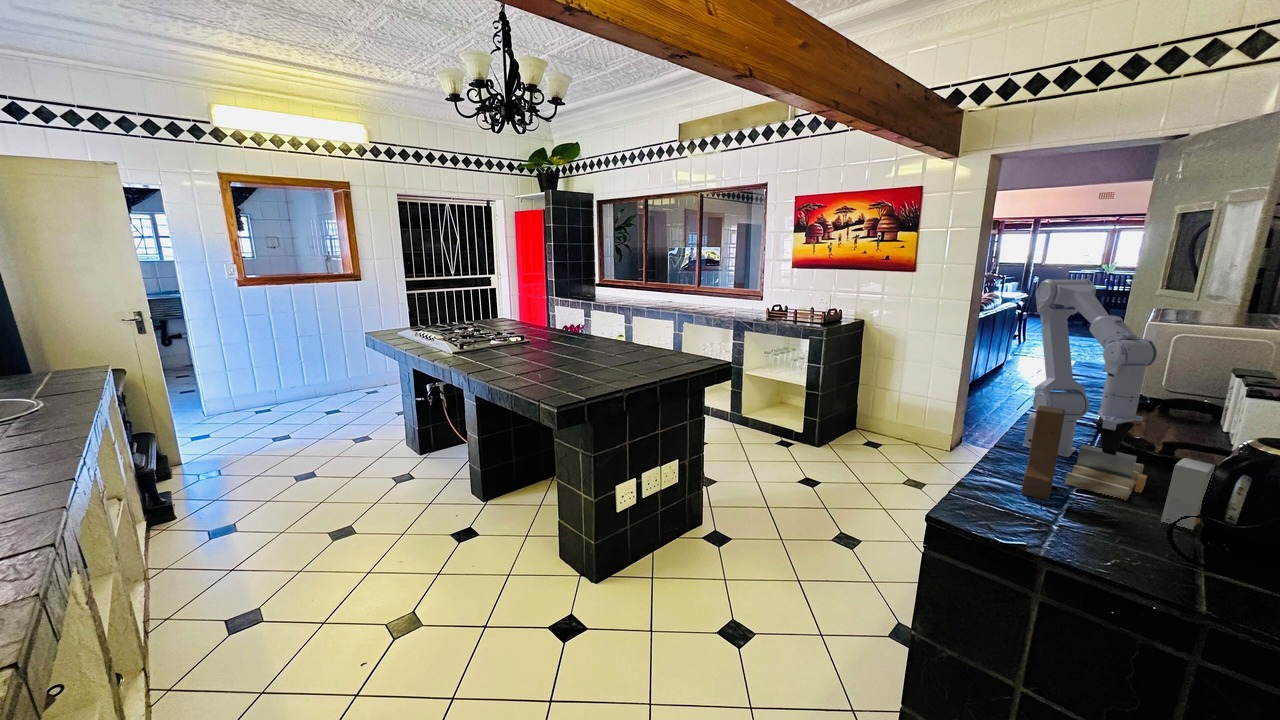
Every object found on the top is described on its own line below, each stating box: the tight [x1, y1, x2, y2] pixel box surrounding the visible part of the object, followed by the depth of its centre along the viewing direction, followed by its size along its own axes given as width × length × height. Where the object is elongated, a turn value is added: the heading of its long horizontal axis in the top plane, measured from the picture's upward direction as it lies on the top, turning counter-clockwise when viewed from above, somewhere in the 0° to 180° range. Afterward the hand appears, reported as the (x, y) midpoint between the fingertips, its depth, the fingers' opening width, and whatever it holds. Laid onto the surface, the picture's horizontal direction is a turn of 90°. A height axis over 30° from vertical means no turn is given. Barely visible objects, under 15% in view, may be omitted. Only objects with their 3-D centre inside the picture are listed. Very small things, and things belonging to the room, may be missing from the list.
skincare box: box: [1160, 457, 1216, 531], centre depth 92 cm, size 6×4×12 cm
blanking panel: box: [1076, 444, 1138, 479], centre depth 111 cm, size 9×3×6 cm, turn 38°
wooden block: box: [1021, 406, 1065, 501], centre depth 105 cm, size 9×4×18 cm, turn 137°
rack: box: [1064, 462, 1148, 501], centre depth 110 cm, size 11×18×3 cm, turn 128°
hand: (1109, 452), depth 110 cm, fingers closed
